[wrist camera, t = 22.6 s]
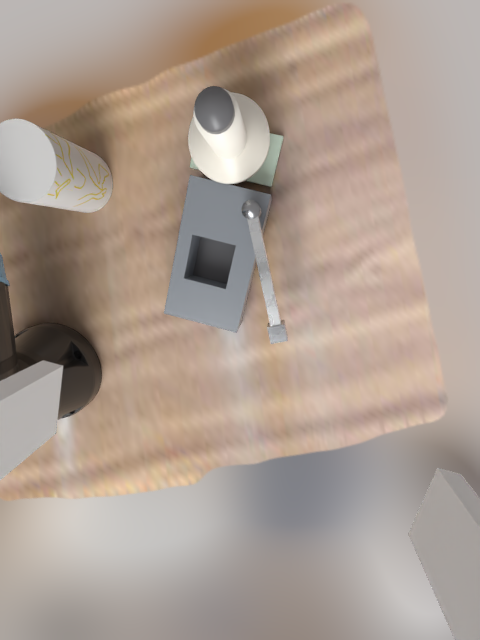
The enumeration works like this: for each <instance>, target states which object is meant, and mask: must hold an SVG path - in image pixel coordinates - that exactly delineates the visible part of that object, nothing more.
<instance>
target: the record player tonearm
mask: <svg viewBox="0 0 480 640" xmlns="http://www.w3.org/2000/svg"><path fill="white" fill-rule="evenodd" d="M241 211H242V214H243V216H244V217H245V218H247V221H248V225H249V230H250V234H251V239H252V244H253V248H254V253H255V257H256V262H257V266H258V271H259V276H260V280H261V285H262V289H263V294H264V298H265V303H266V308H267V312H268V317H269V321H270V323H268V326H267V329H268V333H269V338H270V342H271V344H273V343H278V342H284V341H288V337H287V331H286V327H285V322H284V320H281V319H280V314H279V310H278V305H277V300H276V296H275V291H274V286H273V281H272V277H271V272H270V267H269V263H268V258H267V253H266V248H265V244H264V239H263V234H262V230H261V225H260V220H259V219H260V217H261V215H262V210H261V208H260V206H259V204H258V203H257V202H256V201H254V200H247V201H246V202H244V203H243V205H242V208H241Z"/></svg>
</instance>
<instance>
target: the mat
mask: <svg viewBox="0 0 480 640" xmlns="http://www.w3.org/2000/svg"><path fill="white" fill-rule="evenodd" d="M282 142H283V136H280V135H276V134H271V133H270V146H269V151H268V154H267V157H266V159H265V162H264V163H263V165H262V167H261V168H260V169H259V170H258V171H257V172H256V173H255V174H254V175H253V176H252V177H251V178H249V179H247V180H245V181H247V182H251V183H255V184H260V185H264V186H268V187H272V183H273V178H274V174H275V170H276V166H277V162H278V158H279V154H280V150H281V146H282ZM190 168H192V169H197V170H199V169H198V167H197V166H196V164H195V163H194V161H193V159H192V158H191V163H190Z"/></svg>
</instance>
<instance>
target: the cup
mask: <svg viewBox="0 0 480 640" xmlns="http://www.w3.org/2000/svg"><path fill="white" fill-rule="evenodd" d="M112 189H113V180H112V175H111V172H110V169H109V167H108V166H107V164H106V163H105V162H104V160H103V159H102V158H101V157H99V156H98V155H96V154H95V153H92V152H90V151H88V150H86V149H84V148H82V147H80V146H78V145H76V144H74V143H72V142H70V141H68V140H66V139H64V138H62V137H60V136H58V135H56V134H54V133H52V132H50V131H47V130H45V129H43V128H41V127H39V126H37V125H35V124H33V123H31V122H29V121H26V120H23V119H9V120H6V121H4V122H2V123H0V192H1V193H2V194H3V195H5V196H6V197H8V198H10V199H12V200H14V201H17V202H23V203H29V204H35V205H41V206H47V207H54V208H60V209H66V210H72V211H78V212H85V213H91V212H95V211H98V210H100V209H101V208H102V207H104V206H105V205H106V203H107V202H108V201H109V199H110V196H111V194H112Z"/></svg>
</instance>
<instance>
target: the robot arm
mask: <svg viewBox="0 0 480 640" xmlns="http://www.w3.org/2000/svg"><path fill="white" fill-rule="evenodd" d="M8 286H10V284H9V281H8V280H7V279H6V274H5V269H4V264H3V259H2V255H1V253H0V480H1V479H2V478H4V477H5V476H6V475H7V474H8V473H9V472H11V471H12V470H13V469H14V468H15V467H17V466H18V465H19V464H20V463H21V462H23V461H24V460H25V459H26V458H27V457H28V456H30V455H31V454H32V453H33V452H34V451H36V450H37V449H38V448H39V447H40V446H41V445H43V444H44V443H45V442H46V441H47V440H49V439H50V438H51V437H52V436H53V435H55V434H56V429H57V420H59V419H61V418H65V417H69V416H71V415H74V414H76V413H77V412H79V411H80V410H82V409H83V408H84V407H85V406H87V405H88V404H89V403H90V402H91V401H92V400H93V399H94V397H95V396H96V394H97V392H98V390H99V387H100V383H101V367H100V363H99V360H98V357H97V355H96V353H95V351H94V349H93V348H92V346H91V345H90V344H89V342H88V341H87V340H86V339H85V338H84V337H83V336H82V335H80V334H79V333H78V332H76V331H75V330H73V329H71V328H69V327H66V326H64V325H60V324H55V323H44V324H39V325H36V326H33V327H30V328H27V329H25V330H23V331H21V332H19V333H18V334H16V335H15V336H14V328H13V321H12V313H11V306H10V298H9V291H8ZM408 535H409V537H410V539H411V541H412V544H413V546H414V548H415V551H416V553H417V555H418V557H419V560H420V562H421V564H422V566H423V569H424V571H425V573H426V576H427V578H428V580H429V582H430V585H431V587H432V589H433V591H434V594H435V596H436V598H437V601H438V603H439V605H440V607H441V609H442V612H443V614H444V616H445V619H446V621H447V623H448V625H449V627H450V630H451V632H452V634H453V637H454V639H455V640H480V498H479V497H478V495H477V494H476V493H475V492H474V490H473V489H472V488H471V486H470V485H469V484H468V483H467V481H466V480H465V479H464V478H463V476H462V475H461V474H458V473H454V472H451V471H447V470H443V469H440V468H437V470H436V472H435V475H434V477H433V479H432V481H431V484H430V486H429V488H428V490H427V493H426V495H425V497H424V499H423V502H422V504H421V506H420V508H419V511H418V513H417V515H416V517H415V520H414V522H413V524H412V527H411V529H410V531H409V533H408Z"/></svg>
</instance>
